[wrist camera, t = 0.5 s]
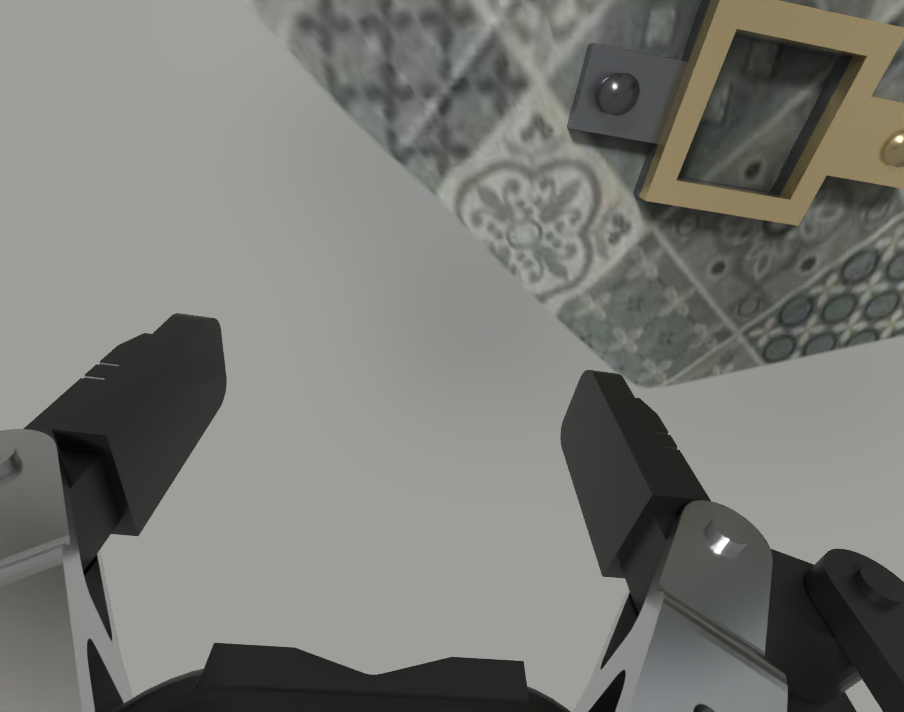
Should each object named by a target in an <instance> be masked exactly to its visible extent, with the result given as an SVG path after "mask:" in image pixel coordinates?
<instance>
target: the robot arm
mask: <svg viewBox="0 0 904 712" xmlns="http://www.w3.org/2000/svg"><path fill="white" fill-rule="evenodd" d="M225 392H226V370H225V361H224V353H223V345H222V335H221V328H220V324H219V322H218V320H216V319H215V318H208V317H201V316H194V315H187V314H179V313H176V314H174V315H172V316H171V317H170V318H169V319H168V320H167V321H166V322H164V323H163V324H162V325H161V327H159V328H158V329H157V330H156V331H155V332H154V333H153V334H147V333H144V334H142V335H139V336H137V337H135V338H133V339H131V340H129V341H127V342H124V343H122V344H120V345H118V346H117V347H116V348H115V349H113V350H112V351H111V352H110V353H109V354H108V355H107V356H106V357H104V358H103V359H102V360H101V361H100V365H95V366H94V367H93V368H92V369H91V370H90V371H88V372H87V373H86V374H85V378H84V379H82V378H81V379H79V380H78V381H77V382H76V383H75V384H74V385H73V386H71V387H70V388H69V389H68V390H67V391H66V392H65V393H64V394H62V395H61V396H60V397H59V398H58V399H57V400H56V401H55V402H53V403H52V404H51V405H50V406H49V407H48V408H47V409H46V410H44V411H43V412H42V413H41V414H40V415H39V416H37V417H36V418H35V419H34V420H33V421H32V422H31V423H30V424H28V425H27V426H26V427H25V428H24V429H12V430H3V431H0V712H570V711H569V710H568V709H567V708H565V707H564V706H562V705H561V704H559V703H558V702H556V701H555V700H554V699H552V698H550V697H548V696H547V695H544V694H543V693H541V692H539V691H537V690H535V689H533V688H530V687H527V683H526V676H525V669H524V662H523V661H510V660H494V659H477V658H461V657H450V658H446V659H441V660H437V661H433V662H429V663H425V664H421V665H416V666H412V667H409V668H404V669H400V670H396V671H392V672H387V673H384V674H378V675H369V674H365V673H362V672H359V671H356V670H354V669H351V668H348V667H346V666H343V665H340V664H337V663H335V662H332V661H329V660H327V659H324V658H321V657H319V656H316V655H313V654H310V653H307V652H305V651H302V650H300V649H297V648H291V647H274V646H258V645H241V644H224V643H214V645H213V647H212V650H211V652H210V655H209V658H208V660H207V663H206V665H205V668H204V669H201V670H196V671H192V672H189V673H186V674H183V675H180V676H178V677H175V678H172V679H169V680H167V681H165V682H163V683H161V684H158V685H157V686H154V687H152V688H150V689H148V690H146V691H144V692H142V693H141V694H139V695H137V696H136V697H134V698H133V696H132V693H131V688H130V685H129V682H128V678H127V675H126V672H125V669H124V665H123V662H122V658H121V654H120V649H119V645H118V640H117V635H116V629H115V624H114V619H113V614H112V609H111V603H110V598H109V593H108V588H107V583H106V578H105V573H104V568H103V562H102V558H101V555H100V553H99V550H100V549H101V547H102V546H103V544H104V543H105V541H106V540H107V538H108V537H109V535H110V534H120V535H131V536H139V534H140V533H141V531H142V529H143V528H144V526H145V525H146V523H147V522H148V520H149V518H150V517H151V515H152V514H153V512H154V510H155V509H156V507H157V506H158V504H159V503H160V501H161V499H162V498H163V496H164V495H165V493H166V492H167V490H168V488H169V487H170V485H171V484H172V482H173V481H174V479H175V477H176V476H177V474H178V473H179V471H180V470H181V468H182V466H183V465H184V463H185V462H186V460H187V459H188V457H189V455H190V454H191V452H192V451H193V449H194V448H195V446H196V444H197V443H198V441H199V440H200V438H201V436H202V435H203V433H204V432H205V430H206V429H207V427H208V426H209V424H210V422H211V421H212V419H213V418H214V416H215V414H216V413H217V411H218V410H219V408H220V406H221V404H222V402H223V399H224V396H225ZM561 446H562V450H563V453H564V456H565V459H566V462H567V465H568V469H569V472H570V475H571V478H572V481H573V485H574V488H575V491H576V494H577V497H578V500H579V504H580V507H581V510H582V513H583V516H584V519H585V523H586V526H587V529H588V532H589V535H590V538H591V542H592V545H593V548H594V551H595V554H596V557H597V560H598V564H599V567H600V570H601V573H602V576H603V577H616V578H625V579H626V582H627V584H628V587H629V590H628V592H627V593H626V594H625V596H624V598H623V600H622V602H621V605H620V607H619V610H618V612H617V615H616V617H615V620H614V622H613V624H612V627H611V629H610V632H609V634H608V637H607V639H606V642H605V644H604V647H603V649H602V652H601V654H600V656H599V659H598V661H597V664H596V666H595V669H594V671H593V674H592V676H591V678H590V681H589V683H588V685H587V687H586V689H585V691H584V692H583V694H582V696H581V698H580V700H579V701H578V703H577V705H576V707H575V709H574V711H573V712H856V710H855V708H854V707H853V705H852V703H851V702H850V700H849V698H848V696H847V695H846V693H845V691H846V690H847V689H849V688H850V687H852V686H853V685H854V684H856V683H857V682H859V681H860V680H862V679H863V681H864V682H865V684H866V686H867V687H868V689H869V690H870V692H871V693H872V695H873V696H874V698H875V700H876V701H877V703H878V704H879V706H880V707H881V709H882V711H883V712H904V582H903V581H902V580H901V579H899V578H898V577H897V576H896V575H895V574H893V573H892V572H891V571H889V570H888V569H887V568H885V567H884V566H882V565H880V564H879V563H877V562H876V561H874V560H872V559H870V558H868V557H866V556H864V555H861V554H859V553H856V552H853V551H850V550H845V549H833V550H830V551H828V552H827V553H826V554H825V555H824V556H823V557H822V558H821V559H820V560H819V561H818V562H817V563H816V564H815V565H813V564H810V563H808V562H805V561H803V560H800V559H797V558H794V557H791V556H789V555H786V554H783V553H781V552H778V551H775V550H772V549H770V547H769V545H768V543H767V541H766V540H765V538H764V537H763V535H762V534H761V533H760V532H759V530H758V529H756V527H755V526H754V525H752V524H751V523H750V522H749V521H748V520H747V519H746V518H744V517H743V516H741V515H740V514H738V513H737V512H735V511H734V510H732V509H730V508H728V507H726V506H724V505H721V504H718V503H715V502H711V500H710V499H709V497H708V496H707V494H706V492H705V491H704V489H703V488H702V486H701V484H700V483H699V481H698V479H697V478H696V476H695V475H694V473H693V471H692V470H691V468H690V466H689V465H688V463H687V462H686V460H685V458H684V457H683V455H682V453H681V452H680V450H677V445H676V444H675V442H674V440H673V439H672V437H671V436H670V435H668V431H667V429H666V427H665V426H664V424H663V423H662V421H661V419H660V418H659V416H658V415H657V414H656V413H655V412H654V411H653V410H652V409H651V408H650V407H648V405H646V404H645V403H644V402H643V401H642V400H641V399H640V398H635V397H634V395H633V394H632V392H631V390H630V389H629V387H628V385H627V383H626V382H625V380H624V378H623V377H622V376H621V375H620V374H615V373H607V372H600V371H593V370H586V371H585V372H584V373H583V374H582V376H581V378H580V380H579V382H578V385H577V387H576V390H575V392H574V395H573V397H572V400H571V402H570V405H569V407H568V410H567V412H566V415H565V417H564V420H563V423H562V427H561Z"/></svg>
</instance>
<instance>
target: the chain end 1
mask: <svg viewBox="0 0 904 712" xmlns="http://www.w3.org/2000/svg"><path fill="white" fill-rule="evenodd" d="M710 1H711V0H702V2H701V5H700V8H699V10H698V13H697V16H696V19H695V22H694V24H693V27H692V30H691V33H690V36H689V38H688V41H687V44H686V47H685V50H684V52H683V55H682V58H681V60H675V59H670V58H665V57H660V56H655V55H650V54H645V53H640V52H635V51H630V50H625V49H620V48H615V47H610V46H605V45H600V44H595V43H592V44H589V45H588V48H587V52H586V56H585V60H584V64H583V68H582V71H581V75H580V79H579V83H578V87H577V90H576V94H575V98H574V102H573V106H572V110H571V113H570V117H569V121H568V125H567V127H569V128H571V129H576V130H581V131H587V132H593V133H598V134H604V135H610V136H615V137H621V138H626V139H632V140H638V141H643V142H649V143H651V145H650V148H649V151H648V154H647V156H646V159H645V162H644V165H643V168H642V170H641V173H640V176H639V179H638V182H637V184H636V187H635V190H634V194H635V195H637V196H638V197H639V196H640V193H641V190H642V187H643V185H644V182H645V179H646V176H647V174H648V171H649V168H650V165H651V163H652V160H653V157H654V154H655V152H656V149H657V146H658V143H659V141H660V138H661V135H662V132H663V130H664V127H665V124H666V122H667V119H668V116H669V113H670V111H671V108H672V105H673V102H674V100H675V97H676V94H677V91H678V89H679V86H680V83H681V80H682V78H683V75H684V72H685V69H686V67H687V64H688V61H689V58H690V56H691V53H692V50H693V47H694V45H695V42H696V39H697V36H698V34H699V31H700V28H701V25H702V23H703V20H704V17H705V14H706V12H707V9H708V6H709V3H710ZM735 35H736V36H741V37H746V38H751V39H756V40H760V41H765V42H770V43H775V44H780V45H785V46H789V47H794V48H799V49H804V50H809V51H813V52H818V53H823V54H828V55H833V56H838V57H839V58H838V60H837V62H836V64H835V66H834V68H833V70H832V72H831V74H830V76H829V78H828V80H827V82H826V84H825V86H824V88H823V90H822V92H821V94H820V96H819V98H818V100H817V102H816V104H815V106H814V107H813V109H812V111H811V113H810V115H809V117H808V119H807V121H806V123H805V125H804V127H803V129H802V131H801V133H800V135H799V137H798V139H797V141H796V143H795V145H794V147H793V149H792V151H791V153H790V155H789V157H788V158H787V160H786V162H785V164H784V166H783V168H782V170H781V172H780V174H779V176H778V178H777V180H776V182H775V184H774V186H773V188H772V190H771V192H765V191H760V190H754V189H748V188H742V187H736V186H730V185H724V184H719V183H713V182H707V181H701V180H695V179H689V178H683V177H677V179H683V180H689V181H695V182H701V183H707V184H713V185H719V186H724V187H730V188H736V189H742V190H748V191H754V192H760V193H766V194H771V195H777V196H780V195H781V193H782V191H783V189H784V187H785V185H786V183H787V181H788V179H789V178H790V176H791V174H792V172H793V170H794V168H795V166H796V164H797V162H798V160H799V158H800V157H801V155H802V153H803V151H804V149H805V147H806V145H807V143H808V141H809V139H810V137H811V136H812V134H813V132H814V130H815V128H816V126H817V124H818V122H819V120H820V118H821V116H822V114H823V113H824V111H825V109H826V107H827V105H828V103H829V101H830V99H831V97H832V95H833V93H834V92H835V90H836V88H837V86H838V84H839V82H840V80H841V78H842V76H843V74H844V72H845V70H846V69H847V67H848V65H849V63H850V61H851V59H852V57H853V56H848V55H843V54H838V53H834V52H829V51H824V50H819V49H814V48H810V47H805V46H800V45H795V44H790V43H786V42H781V41H776V40H771V39H766V38H762V37H757V36H752V35H747V34H743V33H738V32H735Z"/></svg>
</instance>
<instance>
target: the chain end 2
mask: <svg viewBox="0 0 904 712" xmlns="http://www.w3.org/2000/svg"><path fill="white" fill-rule="evenodd" d="M735 32H738V33H743V34H747V35H752V36H757V37H762V38H766V39H771V40H776V41H781V42H786V43H790V44H795V45H800V46H805V47H810V48H814V49H819V50H824V51H829V52H834V53H838V54H843V55H848V56H853V57H852V59H851V61H850V63H849V65H848V67H847V69H846V70H845V72H844V74H843V76H842V78H841V80H840V82H839V84H838V86H837V88H836V90H835V92H834V93H833V95H832V97H831V99H830V101H829V103H828V105H827V107H826V109H825V111H824V113H823V114H822V116H821V118H820V120H819V122H818V124H817V126H816V128H815V130H814V132H813V134H812V136H811V137H810V139H809V141H808V143H807V145H806V147H805V149H804V151H803V153H802V155H801V157H800V158H799V160H798V162H797V164H796V166H795V168H794V170H793V172H792V174H791V176H790V178H789V179H788V181H787V183H786V185H785V187H784V189H783V191H782V193H781V195H780V196H777V195H771V194H766V193H760V192H754V191H748V190H742V189H736V188H730V187H724V186H719V185H713V184H707V183H701V182H695V181H689V180H683V179H677V177H678V175H679V172H680V170H681V167H682V165H683V162H684V160H685V157H686V155H687V152H688V150H689V147H690V145H691V142H692V140H693V137H694V135H695V132H696V130H697V127H698V125H699V122H700V120H701V117H702V115H703V112H704V110H705V107H706V105H707V102H708V100H709V97H710V95H711V92H712V90H713V87H714V85H715V82H716V80H717V77H718V75H719V72H720V70H721V67H722V65H723V62H724V60H725V57H726V55H727V52H728V50H729V47H730V45H731V42H732V40H733V37H734V35H735ZM903 39H904V28H903V27H898V26H894V25H889V24H885V23H880V22H876V21H871V20H866V19H862V18H857V17H853V16H848V15H844V14H839V13H834V12H830V11H825V10H821V9H816V8H811V7H807V6H802V5H798V4H793V3H789V2H784V1H779V0H711V1H710V3H709V6H708V9H707V12H706V14H705V17H704V20H703V23H702V25H701V28H700V31H699V34H698V36H697V39H696V42H695V45H694V47H693V50H692V53H691V56H690V58H689V61H688V64H687V67H686V69H685V72H684V75H683V78H682V80H681V83H680V86H679V89H678V91H677V94H676V97H675V100H674V102H673V105H672V108H671V111H670V113H669V116H668V119H667V122H666V124H665V127H664V130H663V132H662V135H661V138H660V141H659V143H658V146H657V149H656V152H655V154H654V157H653V160H652V163H651V165H650V168H649V171H648V174H647V176H646V179H645V182H644V185H643V187H642V190H641V193H640V196H639V197H640V198H642V199H643V200H645V201H649V202H656V203H662V204H668V205H674V206H680V207H686V208H692V209H698V210H704V211H711V212H717V213H723V214H729V215H735V216H741V217H747V218H753V219H759V220H766V221H772V222H778V223H784V224H790V225H796V226H798V225H799V224H800V222H801V220H802V218H803V217H804V215H805V213H806V211H807V209H808V208H809V206H810V204H811V202H812V201H813V199H814V197H815V195H816V193H817V192H818V190H819V188H820V186H821V185H822V183H823V181H824V179H825V177H826V176H827V175H828V176H834V177H839V178H845V179H851V180H856V181H862V182H868V183H873V184H879V185H885V186H890V187H896V188H901V189H904V103H901V102H896V101H891V100H886V99H881V98H876V97H871V96H872V94H873V92H874V90H875V89H876V87H877V85H878V83H879V81H880V80H881V78H882V76H883V74H884V73H885V71H886V69H887V67H888V65H889V64H890V62H891V60H892V58H893V57H894V55H895V53H896V51H897V50H898V48H899V46H900V44H901V42H902V41H903Z"/></svg>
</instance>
